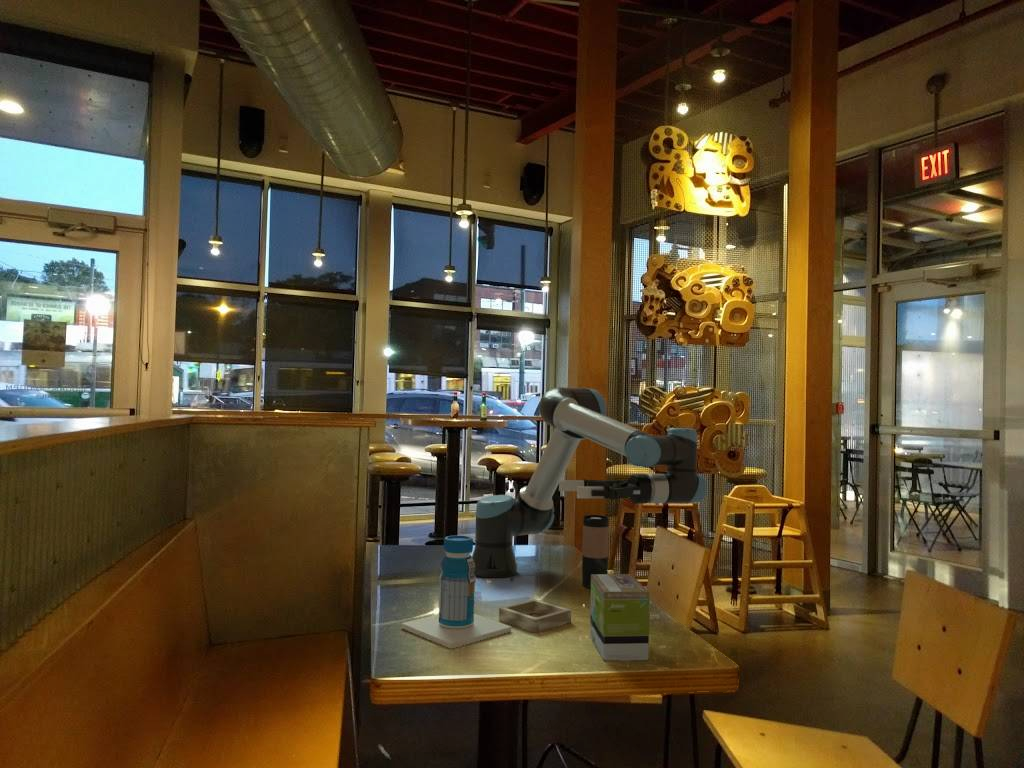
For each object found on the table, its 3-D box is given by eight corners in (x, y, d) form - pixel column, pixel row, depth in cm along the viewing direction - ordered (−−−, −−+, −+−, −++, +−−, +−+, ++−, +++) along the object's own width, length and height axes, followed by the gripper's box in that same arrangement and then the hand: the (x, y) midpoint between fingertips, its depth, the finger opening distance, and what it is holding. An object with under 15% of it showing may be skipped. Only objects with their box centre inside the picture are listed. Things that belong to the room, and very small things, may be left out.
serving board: (401, 628, 165) (401, 623, 165) (460, 613, 177) (460, 609, 177) (451, 649, 152) (451, 643, 152) (511, 631, 164) (511, 626, 164)
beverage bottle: (446, 631, 159) (448, 542, 160) (432, 621, 167) (435, 535, 167) (480, 627, 163) (482, 539, 164) (465, 617, 171) (467, 533, 171)
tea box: (588, 637, 162) (589, 572, 162) (631, 637, 163) (633, 572, 163) (602, 661, 147) (603, 589, 147) (649, 661, 148) (651, 590, 148)
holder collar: (498, 620, 173) (499, 607, 173) (534, 610, 182) (534, 599, 182) (535, 633, 164) (536, 619, 164) (570, 622, 173) (571, 610, 173)
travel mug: (607, 582, 213) (608, 515, 213) (608, 589, 205) (609, 519, 206) (581, 581, 213) (583, 514, 214) (581, 587, 206) (583, 518, 206)
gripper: (669, 510, 169) (585, 511, 164) (626, 496, 193) (552, 497, 188) (669, 479, 170) (586, 479, 164) (627, 469, 194) (553, 468, 188)
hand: (568, 488), depth 176 cm, fingers open, 13 cm apart
